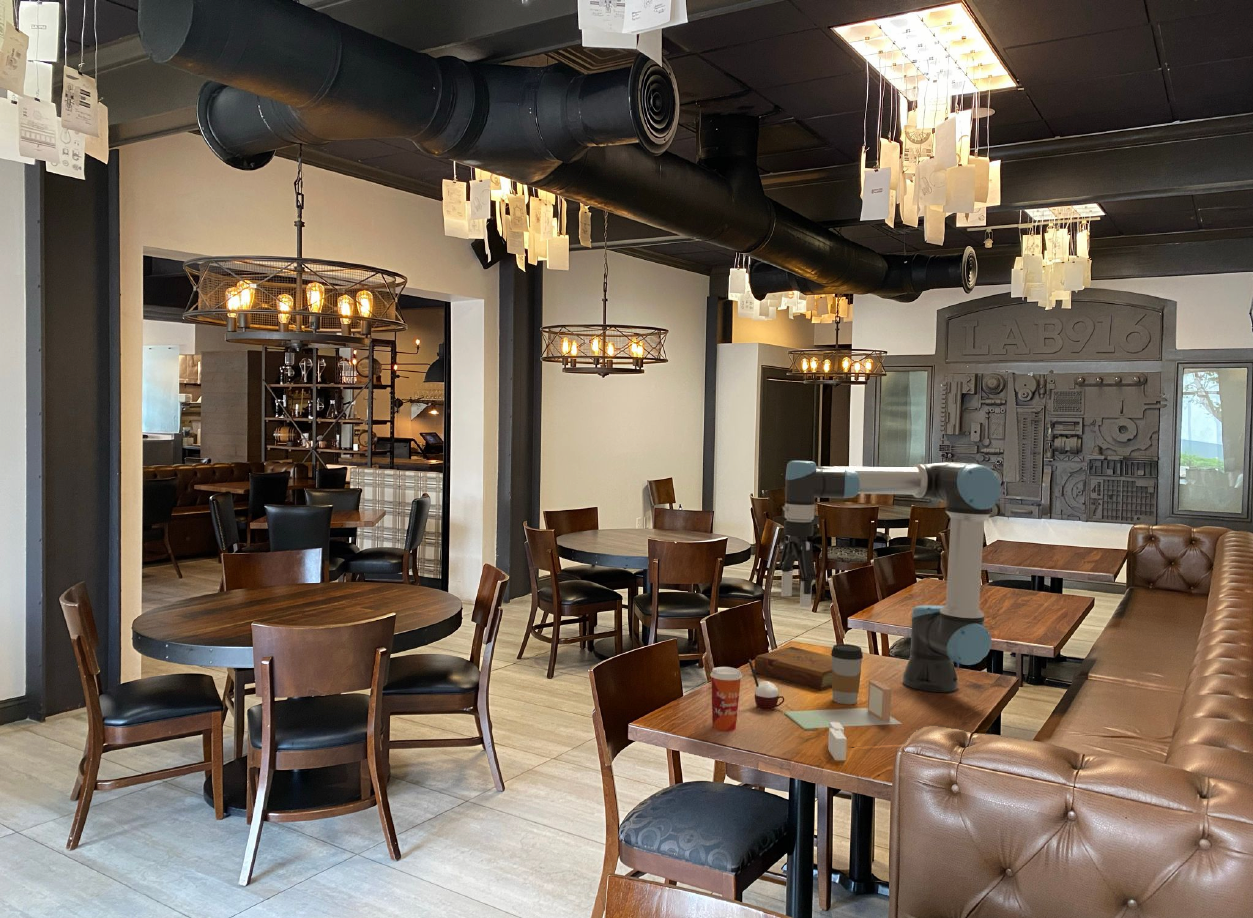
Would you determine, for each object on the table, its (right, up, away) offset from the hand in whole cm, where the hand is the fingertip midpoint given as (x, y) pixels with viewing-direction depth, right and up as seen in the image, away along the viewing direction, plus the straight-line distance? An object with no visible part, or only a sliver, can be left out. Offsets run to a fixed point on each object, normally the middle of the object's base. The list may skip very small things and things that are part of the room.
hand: (795, 601), depth 251 cm
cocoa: (-8, -28, -1) cm, 29 cm away
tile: (+20, -28, -6) cm, 35 cm away
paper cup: (-20, -28, -18) cm, 39 cm away
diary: (+8, -27, +31) cm, 42 cm away
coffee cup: (+14, -28, +5) cm, 32 cm away
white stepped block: (+4, -30, -32) cm, 44 cm away
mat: (+10, -29, -9) cm, 32 cm away
